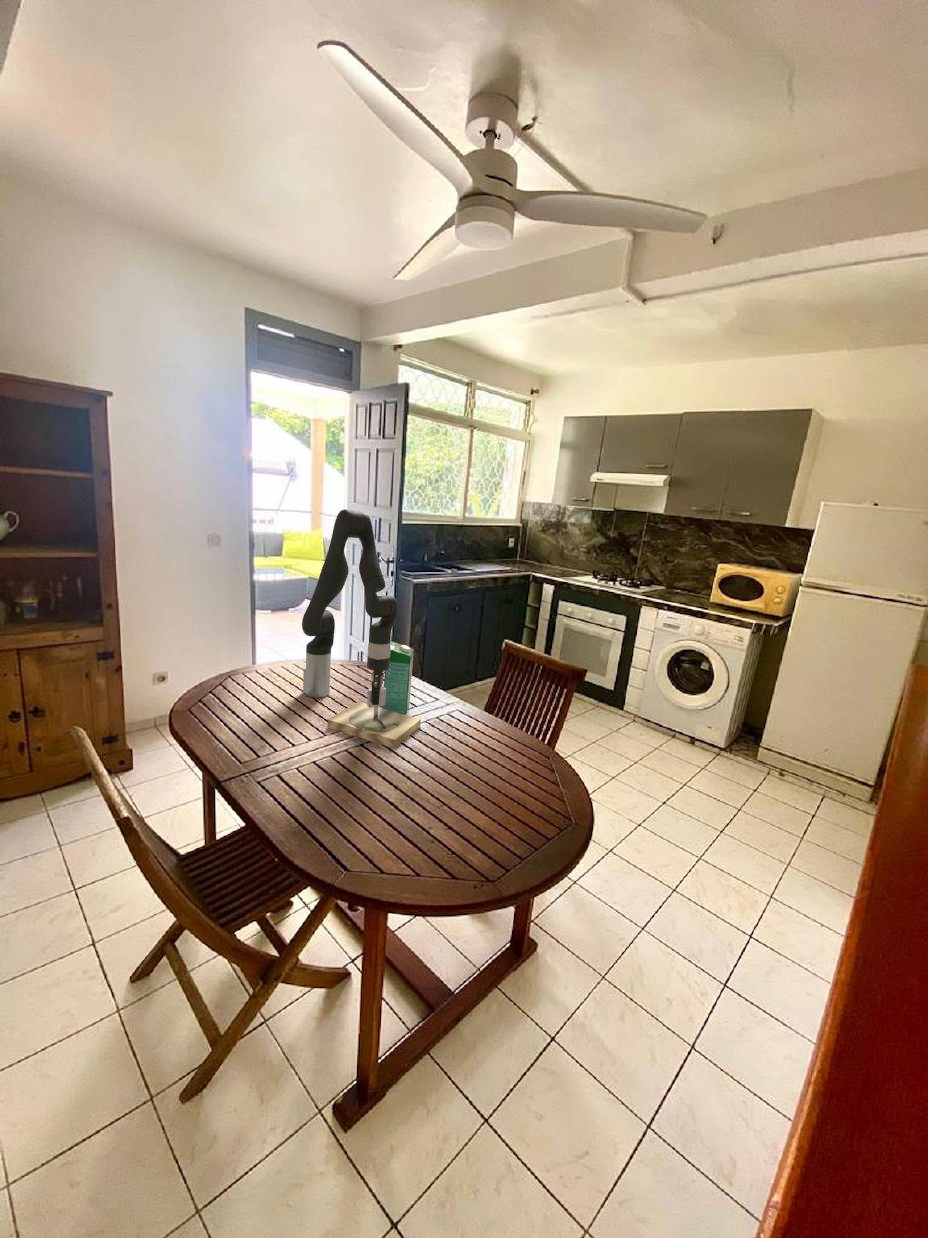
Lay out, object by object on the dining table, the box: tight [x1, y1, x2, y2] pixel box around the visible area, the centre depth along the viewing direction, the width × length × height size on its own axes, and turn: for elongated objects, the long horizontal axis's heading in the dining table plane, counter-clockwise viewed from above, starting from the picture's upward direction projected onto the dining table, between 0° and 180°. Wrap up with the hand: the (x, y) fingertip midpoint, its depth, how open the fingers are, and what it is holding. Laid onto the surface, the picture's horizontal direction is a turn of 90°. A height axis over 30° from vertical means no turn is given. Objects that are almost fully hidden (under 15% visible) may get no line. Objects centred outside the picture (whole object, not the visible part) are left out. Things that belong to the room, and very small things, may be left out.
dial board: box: [327, 701, 422, 749], centre depth 171 cm, size 26×18×3 cm
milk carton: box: [382, 640, 415, 715], centre depth 186 cm, size 9×9×25 cm
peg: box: [366, 686, 386, 729], centre depth 166 cm, size 10×6×11 cm, turn 30°
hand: (376, 702), depth 170 cm, fingers closed on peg, 2 cm apart
